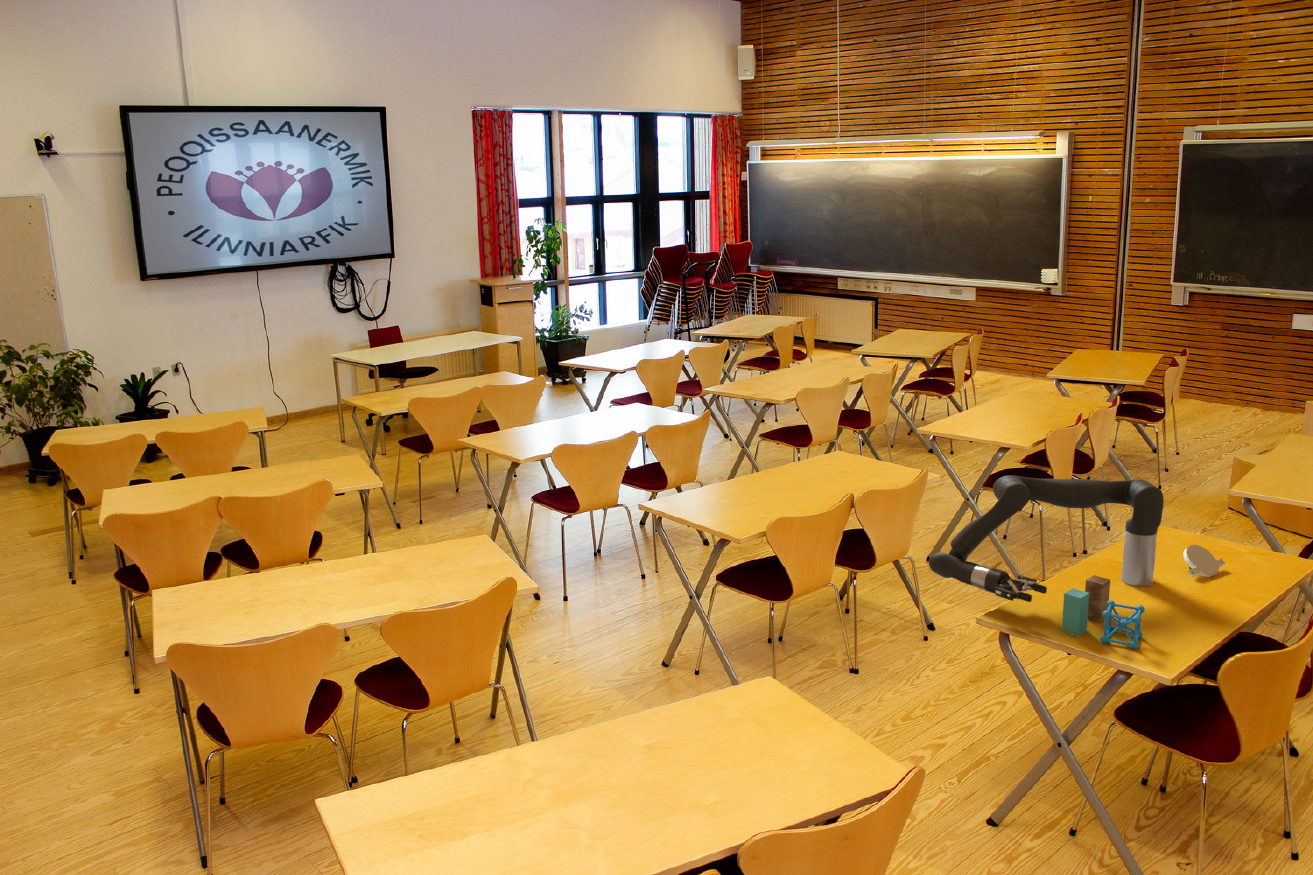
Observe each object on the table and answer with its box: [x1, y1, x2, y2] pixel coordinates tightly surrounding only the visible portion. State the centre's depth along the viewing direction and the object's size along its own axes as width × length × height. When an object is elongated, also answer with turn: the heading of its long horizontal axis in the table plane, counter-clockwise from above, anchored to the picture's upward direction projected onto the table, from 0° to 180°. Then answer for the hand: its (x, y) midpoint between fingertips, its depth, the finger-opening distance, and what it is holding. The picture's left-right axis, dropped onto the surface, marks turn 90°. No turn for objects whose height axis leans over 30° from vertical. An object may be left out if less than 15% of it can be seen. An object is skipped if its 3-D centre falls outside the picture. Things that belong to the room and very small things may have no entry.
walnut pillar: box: [1084, 574, 1111, 623], centre depth 299 cm, size 5×5×12 cm
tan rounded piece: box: [1182, 544, 1226, 578], centre depth 328 cm, size 15×8×11 cm, turn 118°
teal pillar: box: [1061, 587, 1089, 637], centre depth 291 cm, size 5×5×12 cm
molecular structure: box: [1100, 599, 1146, 650], centre depth 284 cm, size 10×10×10 cm
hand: (1038, 594), depth 298 cm, fingers open, 8 cm apart
